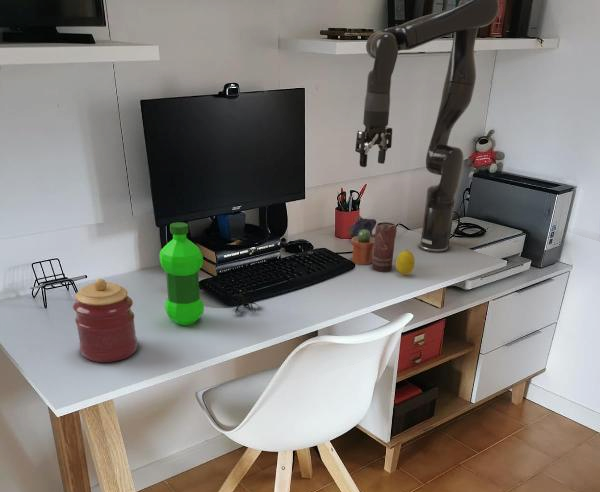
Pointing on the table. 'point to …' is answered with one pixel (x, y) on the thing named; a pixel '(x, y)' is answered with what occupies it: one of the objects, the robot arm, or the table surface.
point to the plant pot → (363, 248)
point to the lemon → (405, 262)
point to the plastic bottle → (182, 276)
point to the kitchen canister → (105, 322)
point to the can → (384, 246)
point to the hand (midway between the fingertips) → (372, 165)
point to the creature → (240, 301)
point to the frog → (362, 227)
